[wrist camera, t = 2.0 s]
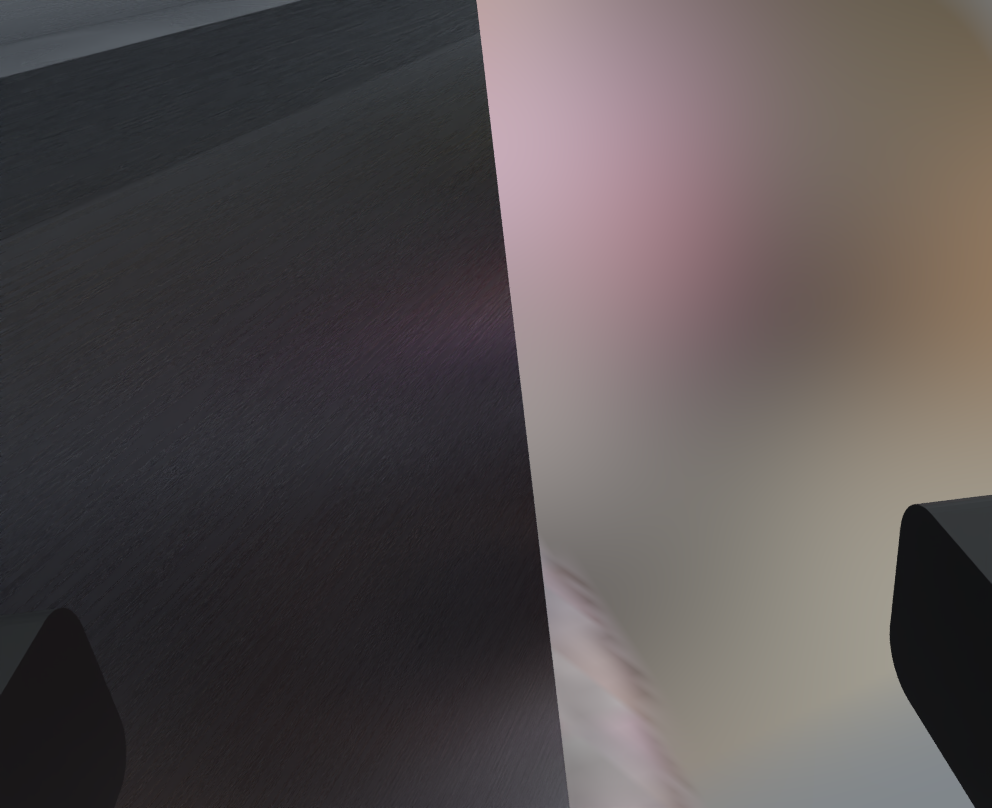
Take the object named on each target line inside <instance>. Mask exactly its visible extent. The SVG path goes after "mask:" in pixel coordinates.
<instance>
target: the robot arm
mask: <svg viewBox="0 0 992 808" xmlns="http://www.w3.org/2000/svg"><path fill="white" fill-rule="evenodd" d="M890 646H891V653H892V658H893V663H894V667H895V670H896V673H897V676H898V679H899V682H900V684H901V687H902V689H903V691H904V693H905V695H906V696H907V698H908V700H909V702H910V703H911V705H912V707H913V708H914V709H915V711H916V713H917V715H918V716H919V718H920V719H921V721H922V723H923V724H924V726H925V728H926V729H927V731H928V732H929V734H930V735H931V737H932V739H933V740H934V742H935V744H936V745H937V747H938V749H939V750H940V752H941V753H942V755H943V757H944V758H945V760H946V761H947V763H948V764H949V766H950V768H951V769H952V771H953V773H954V774H955V776H956V778H957V779H958V781H959V782H960V784H961V785H962V787H963V789H964V790H965V792H966V794H967V795H968V797H969V799H970V800H971V802H972V803H973V805H974V807H975V808H992V495H987V496H979V497H970V498H962V499H955V500H947V501H938V502H930V503H922V504H914V505H911V506H909V507H908V508H907V509H906V511H905V513H904V515H903V518H902V521H901V528H900V537H899V547H898V555H897V565H896V575H895V585H894V595H893V604H892V614H891V623H890ZM125 768H126V739H125V732H124V728H123V724H122V721H121V718H120V716H119V714H118V711H117V709H116V706H115V704H114V701H113V699H112V696H111V694H110V692H109V689H108V687H107V684H106V682H105V679H104V677H103V674H102V672H101V670H100V667H99V665H98V662H97V660H96V657H95V655H94V652H93V650H92V648H91V645H90V643H89V640H88V638H87V635H86V633H85V631H84V628H83V626H82V624H81V622H80V620H79V618H78V617H77V616H76V614H75V613H74V612H72V611H71V610H69V609H67V608H56V609H48V610H40V611H32V612H24V613H16V614H8V615H0V808H114V807H115V804H116V801H117V799H118V796H119V794H120V791H121V788H122V784H123V780H124V775H125Z"/></svg>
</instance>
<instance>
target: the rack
mask: <svg viewBox="0 0 992 808" xmlns="http://www.w3.org/2000/svg"><path fill="white" fill-rule="evenodd" d="M531 479H532V478H531V470H530V461H529V452H528V444H527V435H526V427H525V418H524V410H523V401H522V392H521V383H520V375H519V366H518V358H517V349H516V340H515V331H514V323H513V315H512V305H511V297H510V288H509V280H508V271H507V263H506V253H505V245H504V236H503V227H502V219H501V210H500V202H499V194H498V184H497V175H496V167H495V158H494V150H493V142H492V132H491V124H490V115H489V106H488V99H487V90H486V80H485V72H484V63H483V54H482V46H481V37H480V30H479V20H478V12H477V3H476V0H0V615H8V614H16V613H24V612H32V611H40V610H48V609H56V608H67V609H69V610H71V611H72V612H74V613H75V614H76V616H77V617H78V618H79V620H80V622H81V624H82V626H83V628H84V631H85V633H86V635H87V638H88V640H89V643H90V645H91V648H92V650H93V652H94V655H95V657H96V660H97V662H98V665H99V667H100V670H101V672H102V674H103V677H104V679H105V682H106V684H107V687H108V689H109V692H110V694H111V696H112V699H113V701H114V704H115V706H116V709H117V711H118V714H119V716H120V718H121V721H122V724H123V728H124V732H125V739H126V768H125V775H124V780H123V784H122V788H121V791H120V794H119V796H118V799H117V801H116V804H115V807H114V808H570V807H569V799H568V790H567V781H566V773H565V764H564V755H563V747H562V738H561V729H560V721H559V712H558V703H557V695H556V686H555V677H554V669H553V660H552V651H551V643H550V634H549V625H548V617H547V608H546V599H545V591H544V582H543V574H542V565H541V556H540V548H539V539H538V530H537V522H536V513H535V504H534V496H533V487H532V480H531Z"/></svg>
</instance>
